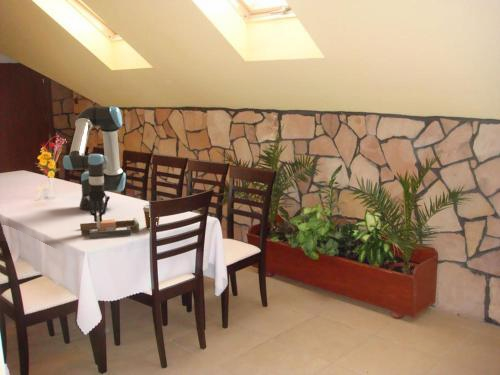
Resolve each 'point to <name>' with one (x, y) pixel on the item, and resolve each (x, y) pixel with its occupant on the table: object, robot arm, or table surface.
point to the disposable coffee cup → (147, 218)
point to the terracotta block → (107, 224)
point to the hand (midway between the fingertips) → (98, 227)
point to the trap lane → (110, 229)
